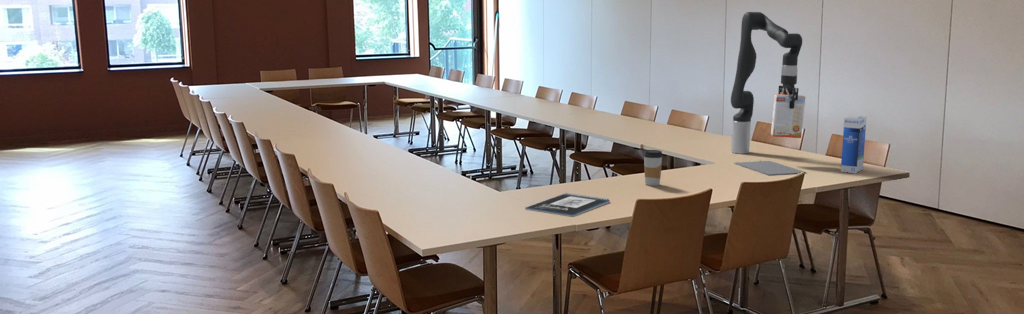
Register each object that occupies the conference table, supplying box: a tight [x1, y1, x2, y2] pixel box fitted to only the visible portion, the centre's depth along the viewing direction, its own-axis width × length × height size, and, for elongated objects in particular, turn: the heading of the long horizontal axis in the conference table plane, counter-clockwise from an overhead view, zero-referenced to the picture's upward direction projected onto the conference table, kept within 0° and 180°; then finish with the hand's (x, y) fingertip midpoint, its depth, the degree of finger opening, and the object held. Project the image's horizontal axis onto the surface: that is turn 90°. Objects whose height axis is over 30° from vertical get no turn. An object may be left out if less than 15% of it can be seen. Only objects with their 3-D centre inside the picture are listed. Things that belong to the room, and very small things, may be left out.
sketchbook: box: [524, 192, 611, 217], centre depth 345 cm, size 22×30×2 cm
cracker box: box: [770, 93, 806, 139], centre depth 431 cm, size 14×6×21 cm, turn 85°
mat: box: [734, 160, 807, 176], centre depth 423 cm, size 32×20×1 cm, turn 15°
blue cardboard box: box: [840, 115, 867, 174], centre depth 415 cm, size 13×8×26 cm, turn 145°
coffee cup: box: [643, 149, 664, 187], centre depth 384 cm, size 8×8×15 cm
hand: (787, 107), depth 430 cm, fingers closed on cracker box, 7 cm apart
